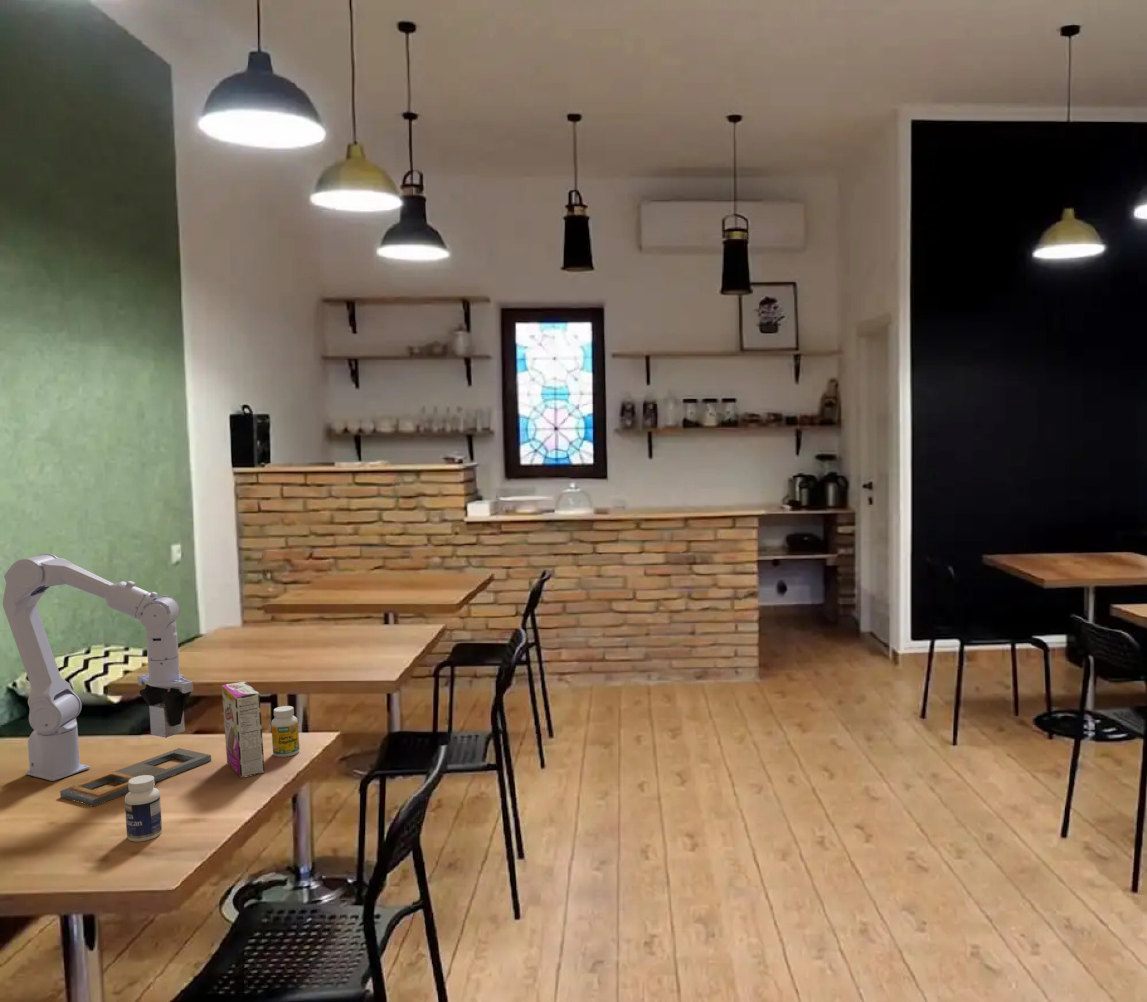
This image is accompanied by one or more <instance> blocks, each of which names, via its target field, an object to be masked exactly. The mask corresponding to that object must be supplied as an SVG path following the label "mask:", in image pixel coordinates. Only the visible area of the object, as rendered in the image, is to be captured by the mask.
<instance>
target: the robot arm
mask: <svg viewBox="0 0 1147 1002" xmlns="http://www.w3.org/2000/svg"><path fill="white" fill-rule="evenodd" d="M4 580H5V589H4V593H3V598H2V607H3V610H4V613H5V616H6V618H7V621H8V622H7V623H8V625H9V627H10V630H11V633H12V636H13V639H14V641H15V645H16V647H17V651H18V652H19V655H20V659H21V662H22V664H23V665H22V666H23V667H24V671H25V673H26V676H27V679H28V682H29V685H30V687H31V689H30V693H29V696H28V699H27V704H28V707H29V714H28V723H29V725H30V727H31V728H32V729H33V731H32V732H31V734H30V735H29V737H28V740H27V751H28V764H29V765H28V766H29V770H26V771H25V775H28V776H32V777H35V778H39V779H44V780H47V781H50V782H55V781H57V780H60V779H63V778H67V777H68V776H69V777H70V776H71V775H74V774H77V773H80V772H83V771H86V770H89V769H90V765H87V764H83V763H81V761H80V759H81V758H80V747H79V734H78V733H79V732H78V722H77V717H78V716H79V715H80V713H81V711H82V706H83V704H82V701H81V698H80V697H79V696H78V694H76V693H75V692H74V691H73V689H72V687H71V686H72V685H71V683H70V682H68V681H67V680H65V679H64V678H63V677H62V676H61V674H60V671H59V670H60V669H59V668H58V665H57V663H56V660H55V657H54V653H53V650H52V647H51V645H50V642H49V638H48V636H47V633H46V630H45V627H44V624H43V621H42V618H41V616H40V615H41V614H40V613H39V609H38V607H37V604H38V602H39V601H40V599H41V597H42V596H43V595H44V593H45V592H46V590H47V589H50V587H56V586H61V585H67V586H69V587H73V588H75V589H78V590H81V591H82V592H83V591H84V592H86V593H89V594H91V595H94V596H97V597H100V598H103V599H105V601H106V604H107V606H108V608H109V609H110V608H111V609H112V610H115V611H118V612H120V613H122V614H125V615H127V616H129V617H132V618H134V619H137V620H140V622H141V624H142V625H143V627H145V629H146V630H145V631H146V637H145V638H146V650H147V651H146V653H147V665H148V673H144V674H141V675H137V686H140V687H142V686H145V687H144V688H143V689H141V690H139V695H140V696H141V698H142V699H143V700H144V702H145V703H146V705H147V708H148V711H149V712H150V709H149V706H150V705H153V704H156V703H160V702H163V701H164V702H165V705H166V708H167V713H168V720H169V724H170V726H176V725H179V724H181V720H182V715H183V711H184V709H185V706H186V704H187V701H188V699H189V697H190V696H191V695H192V692H194V685H193V684H194V683H193V681H192V680H189V679H186V678H185V675H184V674H183V673H181V672H180V661H179V660H180V659H179V658H180V657H179V642H178V641H179V639H178V629H177V619H178V618H179V616H180V612H181V611H180V610H181V609H180V608H181V607H180V605H179V602H177V600H175V599H174V598H172V597H171V596H170V595H168V594H167V595H160V596H158V595H159V594H158V592H156V591H152V592H151V591H150V592H149V591H147V590H145V589H143V588H140V587H138V586H136V582H134V581H132V580H129V581H127V582H126V581H124V580H123V581H118V582H116V583H114V582H111V581H110V580H107V579H105V578H103V577H101V576H99V575H97V574H95V573H93V572H92V571H89V570H87V569H85V568H82V567H80V566H78V565H77V564H74V563H72V562H71V561H69V560H68V559H66V558H63V557H57V556H56V555H55V554H52V553H41V554H38V555H36V556H32V557H29V558H22V559H18V560H17V561H14V562H13V564H12V565H11V566H10V567H9V569H8V570H7V571H6V572H5V574H4Z"/></svg>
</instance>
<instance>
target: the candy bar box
mask: <svg viewBox="0 0 1147 1002" xmlns="http://www.w3.org/2000/svg"><path fill="white" fill-rule="evenodd" d="M221 696H222V709H223V710H222V711H223V721H224V735H225V736H224V737H225V750H226V763H227V764H228V765H229V766H230V767H231V768H232V769H233V770H234V772H235V773H237V775H238V776H239V775H240V776H239V777H240V778H241V777H243V778H246V777H245V776H249V777H251V776H250V775H253V776H255V775H254V774H257V775H260V774H263V773H265V772H266V771H265V757H264V743H263V740H264V739H263V727H262V725H263V724H262V713H261V712H262V711H261V698H260V697H261V694H260V692H259V691H258V690H256V689H255V688H253V687H252V686H251V685H250V684H248V682H246V681H237V682H231V683H226V684H222V685H221Z"/></svg>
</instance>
